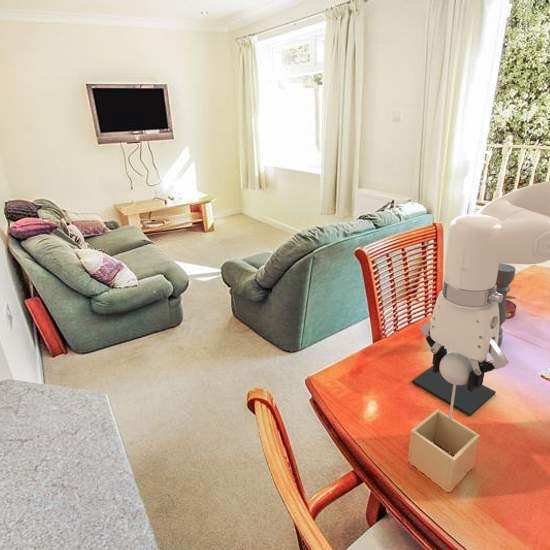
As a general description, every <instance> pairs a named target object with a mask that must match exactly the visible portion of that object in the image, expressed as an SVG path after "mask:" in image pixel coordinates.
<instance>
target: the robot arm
mask: <svg viewBox="0 0 550 550" xmlns="http://www.w3.org/2000/svg"><path fill="white" fill-rule="evenodd" d="M448 230H449V231H448V236H447V247H446V255H445V257H446V258H445V265H444V273H443V274H444V275H443V284H442V290H441V291H439V293H438V295H437V297H436V301H435V304H434V307H433V310H432V311H433V312H432V316H431V320H430V321H429V322H427V323H425V324H423V325H422V326H420V327H419V330H420V332H421V333H422V334H423V336H424V337H425V341H426V342H427V344H428V345H429V347H430V352H431V353H432V364H431V365H432V366H433V372H435V373H438V372H439V371H440V361H441V359H442V358H443V357H444V356H445V355H446V354H448V349H449V350H451V351H452V352H458V353H460V354H462V355H464V356H467V357H469V358H470V360H471V364H472V367H473V370H472V371H471V372H470V374H469V381H468V387H467V389H468V391H470V392H472V391H473V390H474V389H475V388H477V387H478V388H479V387H480V386H481V385H483V383H484V377H485V374H486V373H489V372H492V371H494V370H499V369H503V368H505V367H507V366H508V364H509V360H508V358H507V357H506V356H505V354H504V352H503V351H502V350H501V348H500V347H498V346H497V345H498V337H499V306H498V302H499V303H500V302H501V301H502V299H503V295H501V294H499V293H498V292H496V288H497V286H495V285H496V279H497V274H498V268H499V265H500V264H507V265H537V264H542V263H545V262H549V261H550V180H546V181H543V182H537V183H532V184H529V185H525V186H523V187H520V188H518V189H515V190H513V191H510V192H507V193H506V194H504V195H501V196H499V197H497V198H495V199H493V200H491V201H489V202H488V203H486V204H484V205H483V206H482V207H481V208H480V209H479V210H478V211H477V212H476V213H475V214H474V213H473V214H465V215H459V216H457V217H455V218H454V219H453V220H452V221H451V223H450V225H449V228H448ZM488 354H489V355H490V356H491V358H492V359H491V360H488V357H487V356H488Z"/></svg>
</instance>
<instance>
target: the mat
mask: <svg viewBox="0 0 550 550" xmlns="http://www.w3.org/2000/svg"><path fill="white" fill-rule="evenodd" d="M411 383H412V384H414V385H415V386H417V387H419V388H420V389H422V390H423V391H426V392H427V393H429V394H431V395H432V396H434V397H436V398H437V399H439V400H440V401H443V402H444V403H446V404H448V406H451V399H452V391H453V384H451V383H449V382H448V381H446V380H445V379H444V378H443V376H442V375H441V372H440V371H439V372H438V373H435V372H433V365H431V367H429V368H427V369H426V370H425V371H423V372H422V373H420V374H419V375H418V376H416V377H415V378H413V379H412V380H411ZM467 387H468V383H467V384H464V385H456V390H455V397H454V404H453V409H455V410H458V411H460V412H461V413H462V414H464V415H466V416H468V417H472V415H474V413H476V412H477V411H478V410H480V409H481V407H482V406H484V405H485V404H486V403H487V402H488V401H490V399H491V398H492V397H494V395H496V392H497V391H495V390H494V389H491V388H490V387H488V386H485V384H482V385H481V386H480V387H479V388H478V387H477V388H475V389H474V390H473V391H472V392H470V391H468V389H467Z"/></svg>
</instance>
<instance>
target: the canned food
mask: <svg viewBox="0 0 550 550" xmlns="http://www.w3.org/2000/svg"><path fill="white" fill-rule="evenodd" d="M511 299H514V300H515V299H516V296H511V295H508V294H507V295H506V300H505V305H506V316H507V318H506V320H509V319H512V318H514V317H515V316H516V312H517V308H518V307H517V304H515V302H513V301H511Z"/></svg>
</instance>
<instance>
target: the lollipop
mask: <svg viewBox="0 0 550 550" xmlns="http://www.w3.org/2000/svg"><path fill="white" fill-rule="evenodd" d="M472 370H473V367H472V364H471V360H470V358H469V357H467V356H464V355H462V354H460V353H458V352H456V351H451V352H447V354H446V355H445V356H444V357H443V358H442V359H441V361H440V372H441V375H442V376H443V378H444V379H445V380H446V381H448V382H449V383H451V384H453V391H452V399H451V405H449V406H450V407H449V415H448V416H449V419H451V418H453V410H454V407H453V404H454V397H455V390H456V385H464V384H467V383H468V381H469V374H470V372H471V371H472Z"/></svg>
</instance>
